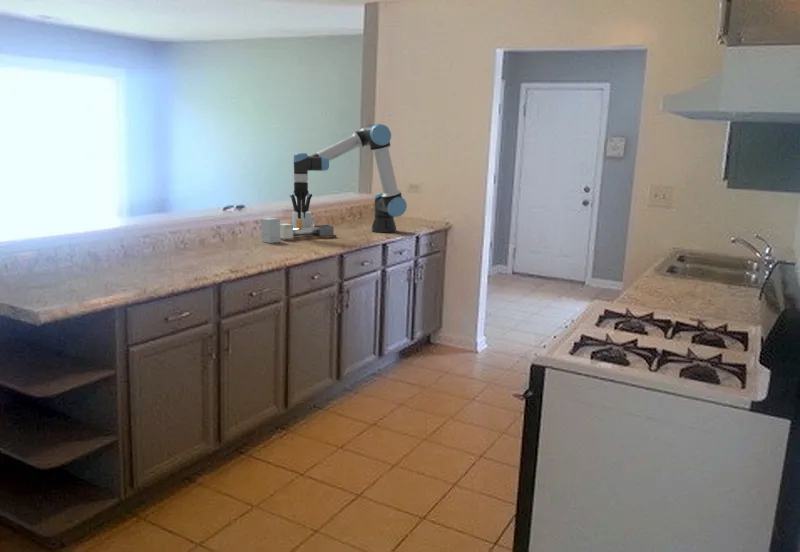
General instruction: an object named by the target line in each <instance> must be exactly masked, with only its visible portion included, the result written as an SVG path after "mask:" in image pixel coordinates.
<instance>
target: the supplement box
mask: <svg viewBox="0 0 800 552" xmlns="http://www.w3.org/2000/svg"><path fill="white" fill-rule="evenodd" d="M260 220H261V242H262V243H267V244H273V243H274V244H275V242H276V243H280V242H281V241H282V240H281V239H280V224H281V219H280V218H277V217H276V218H275V217H266V218H265V217H264V218H261V219H260Z"/></svg>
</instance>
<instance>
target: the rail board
mask: <svg viewBox="0 0 800 552" xmlns="http://www.w3.org/2000/svg"><path fill="white" fill-rule="evenodd" d="M329 237H333V238H337V235H336V234H334V235H328V236H319V235H305V236H293V238H289V239H283V238H280V239H281V241H282V240H283V241H282V242H291V240H294V241H306V240H317V239H318V240H319V239H330V238H329Z"/></svg>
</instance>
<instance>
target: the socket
mask: <svg viewBox="0 0 800 552" xmlns="http://www.w3.org/2000/svg"><path fill="white" fill-rule="evenodd" d="M280 238H283V239H289V238H293V224H291V223H280Z"/></svg>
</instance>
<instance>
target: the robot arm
mask: <svg viewBox="0 0 800 552" xmlns="http://www.w3.org/2000/svg"><path fill="white" fill-rule="evenodd" d="M391 139H392V132H391V130H390V128H389V127H388V126H387V125H385V124H382V123H376V124H368V125H365V126H363V127H362V128H360V129H358V130H356V131H354V132H353V133H352V135H351V136H348V137H346V138H344V139H342V140H340V141H337V142H335V143H334V144H332V145H330V146H327V147H326V148H323V149H321V150H319V151H318V152H315V153H313V154H311V155H308V153H307V152H305V153H304V152H296V153H294V154H293V181H294V182H293V192H292V193H291V194H289V197H290V198H291V199H290V200H291V202H292V206H293V207H292V208H293V212H297V213H298V219H299V220H302V225H304V218H305V213H306V212H309V208H310V204H311V200H312V197H313V194H312V193H310V192H309V190H308V189H309V183H308V181H309V177H308V173H309V172H311V171H312V172H313V171H317V172H319V171H320V172H326V171H328V170H329V168H330V161H332V160H333V161H334V160H335V159H337V158H340V157H341V156H343V155H345V154H347V153H350V152H351V151H353V150H356V149H357V148H359V149H360V148H361V149H362V148H363V147H365V146H369V147H370V149H369V150H370V151H371V152H373V153H374V157H375V162H376V167H377V170H378V175H379V180H380V184H381V188H382V193H380V192H379V193H376V194H375V195H374V199H373V200H374V219H373V222H372V225H371V232H373V231H374V233H382V232H386V233H396V232H397V225H396V221H395V218H398V217H401V216H403V215H404V214H405V213H406V211H407V207H408V206H407V205H408V204H407V201H406V200H405V198H403V196H402V192H401V190H399V189H398V186H397V181H396V176H395V172H394V167H393V163H392V158H391V155H390V147H391V142H390V141H391ZM301 212H302V213H301ZM394 217H395V218H394Z"/></svg>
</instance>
